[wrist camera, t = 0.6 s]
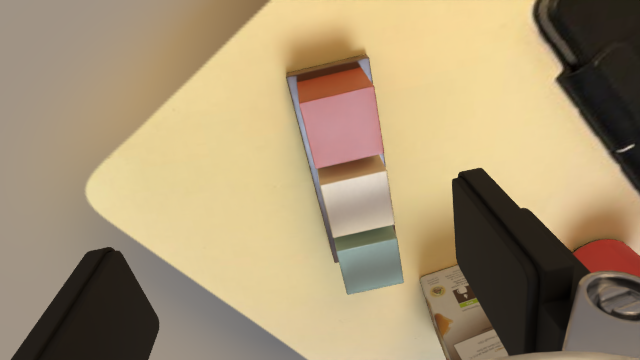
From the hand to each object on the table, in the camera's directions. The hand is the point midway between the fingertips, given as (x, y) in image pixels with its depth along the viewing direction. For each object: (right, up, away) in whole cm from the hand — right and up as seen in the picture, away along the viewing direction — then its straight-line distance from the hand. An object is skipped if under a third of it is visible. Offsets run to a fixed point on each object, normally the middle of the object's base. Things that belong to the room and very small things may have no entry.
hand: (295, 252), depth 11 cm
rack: (+3, +3, +20) cm, 21 cm away
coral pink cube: (+2, +7, +17) cm, 18 cm away
